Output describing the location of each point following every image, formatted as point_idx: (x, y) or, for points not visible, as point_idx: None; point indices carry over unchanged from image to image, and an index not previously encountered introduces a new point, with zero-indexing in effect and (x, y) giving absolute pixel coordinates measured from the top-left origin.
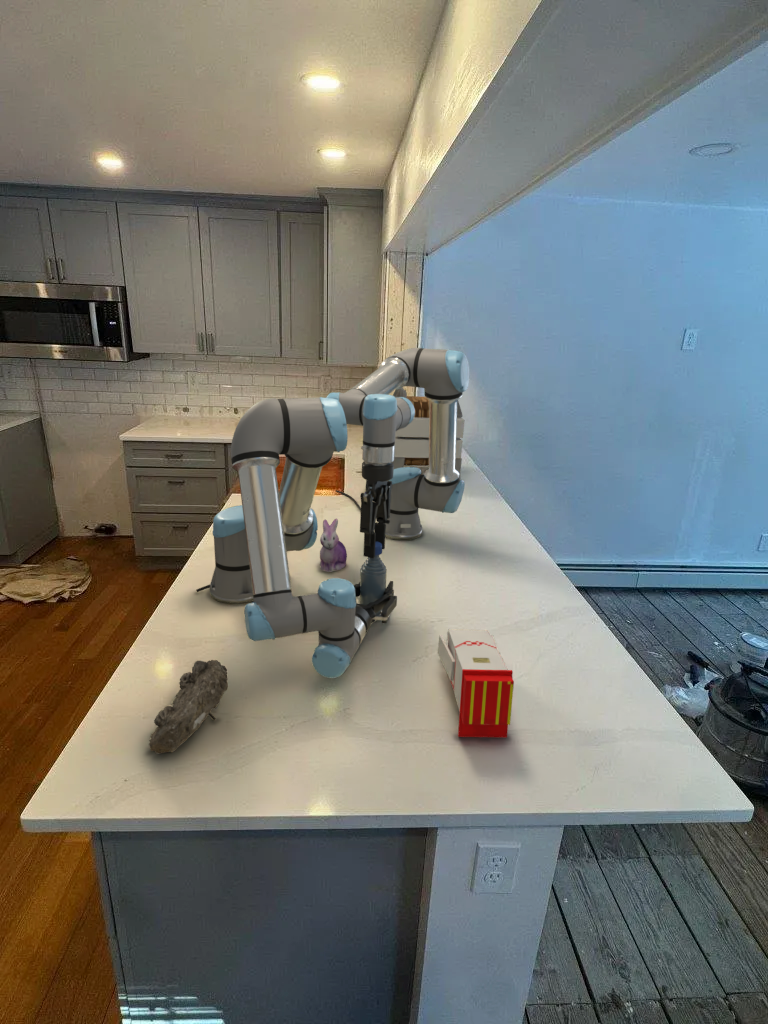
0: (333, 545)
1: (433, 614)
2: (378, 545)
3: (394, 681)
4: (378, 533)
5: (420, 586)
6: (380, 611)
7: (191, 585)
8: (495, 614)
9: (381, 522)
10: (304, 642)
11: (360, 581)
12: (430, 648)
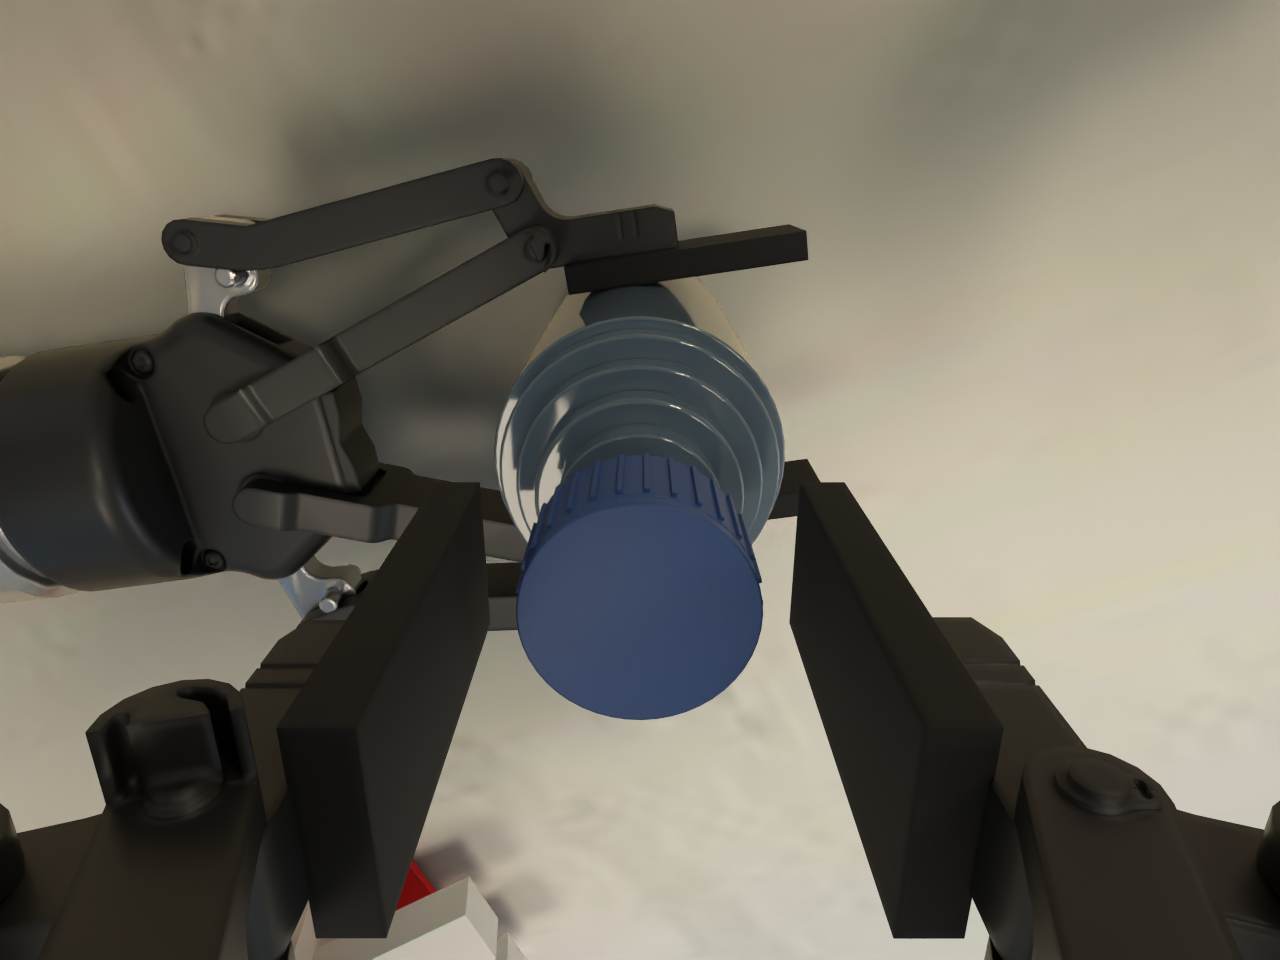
0: None
1: (807, 677)
2: (624, 683)
3: (109, 706)
4: (850, 678)
5: (1157, 497)
6: (319, 603)
7: None
8: None
9: (985, 880)
10: (67, 92)
11: (553, 328)
12: (462, 759)
